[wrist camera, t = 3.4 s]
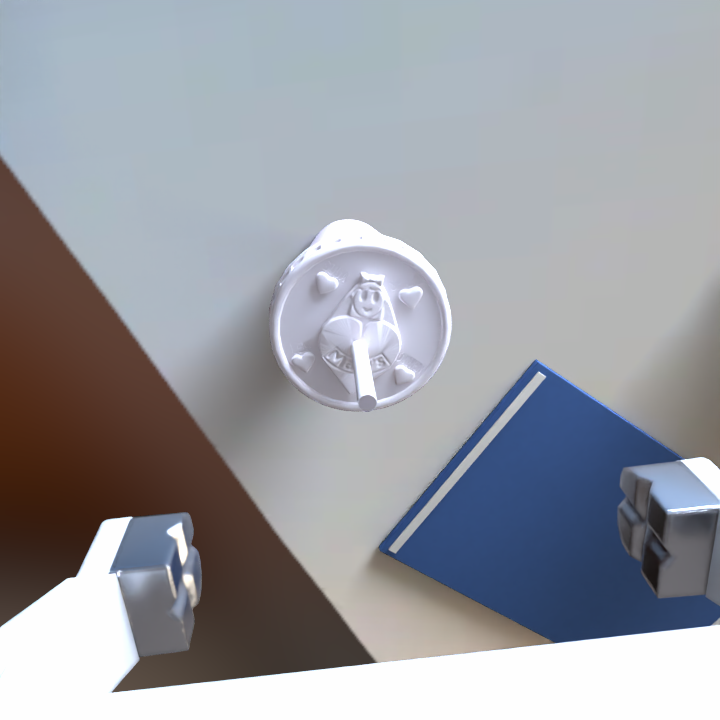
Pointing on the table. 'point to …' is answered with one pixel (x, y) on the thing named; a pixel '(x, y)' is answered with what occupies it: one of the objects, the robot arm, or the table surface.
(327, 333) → the smoothie
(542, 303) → the table surface
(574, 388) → the cloth
